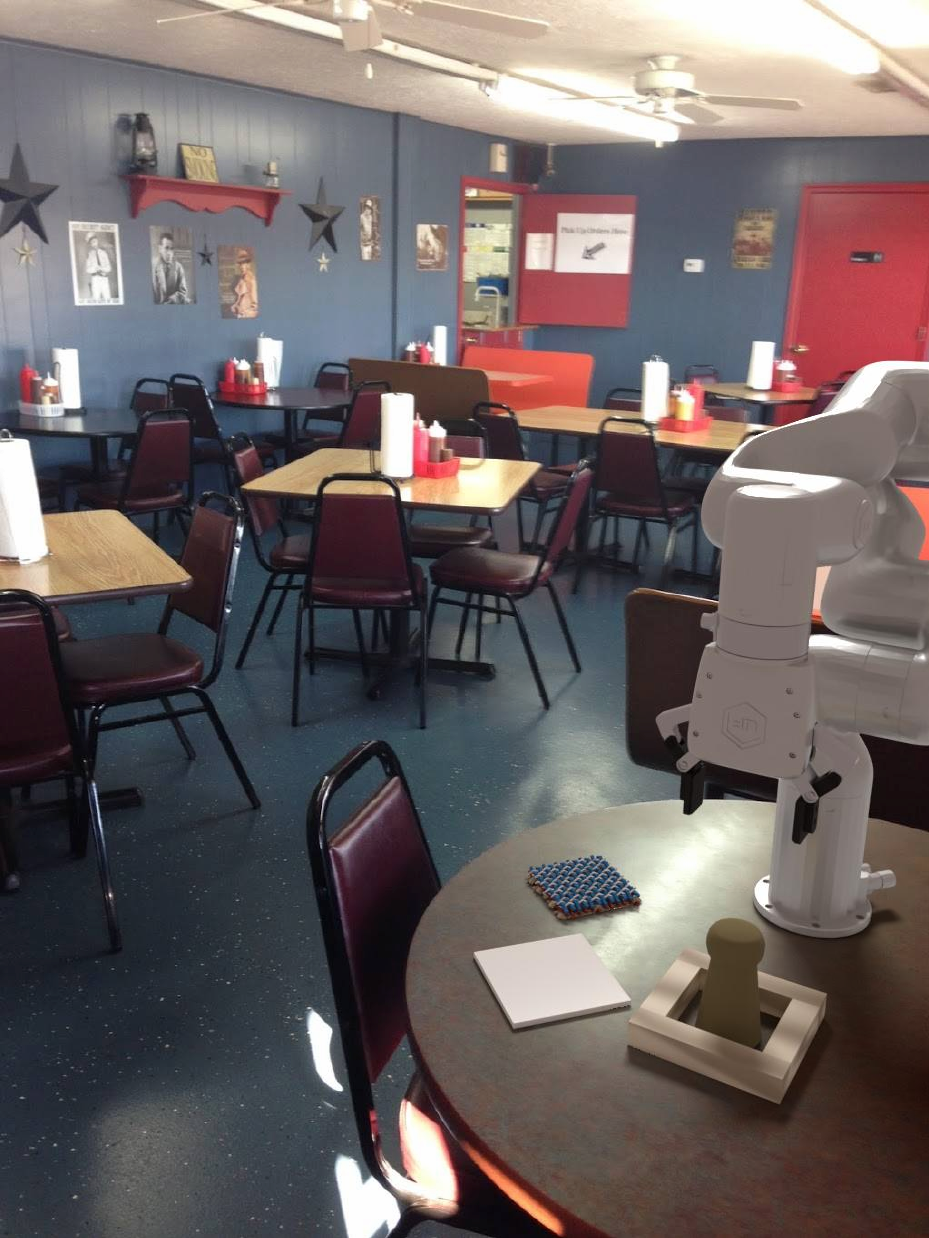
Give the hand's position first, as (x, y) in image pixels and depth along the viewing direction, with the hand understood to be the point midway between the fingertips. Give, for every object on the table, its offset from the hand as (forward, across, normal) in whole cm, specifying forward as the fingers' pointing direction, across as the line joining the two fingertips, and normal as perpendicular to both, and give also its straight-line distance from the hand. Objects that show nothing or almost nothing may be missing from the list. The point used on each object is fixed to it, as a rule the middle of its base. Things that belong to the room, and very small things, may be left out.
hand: (745, 823), depth 95 cm
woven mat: (+22, -23, +15) cm, 35 cm away
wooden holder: (+21, 0, 0) cm, 21 cm away
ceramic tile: (+21, -18, -2) cm, 28 cm away
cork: (+22, 0, 0) cm, 22 cm away
